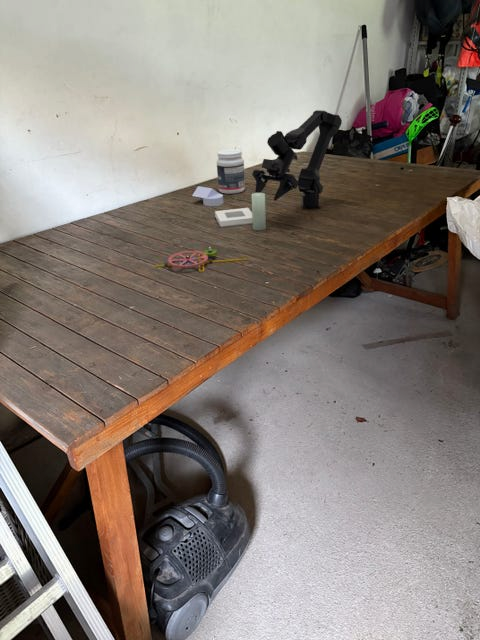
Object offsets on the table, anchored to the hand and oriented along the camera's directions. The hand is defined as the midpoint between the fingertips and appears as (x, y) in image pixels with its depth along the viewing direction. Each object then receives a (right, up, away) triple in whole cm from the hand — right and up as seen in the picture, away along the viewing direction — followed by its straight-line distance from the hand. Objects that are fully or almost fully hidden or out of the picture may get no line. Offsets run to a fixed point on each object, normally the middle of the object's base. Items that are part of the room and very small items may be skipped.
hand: (265, 198), depth 190 cm
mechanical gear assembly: (-22, -28, -25) cm, 43 cm away
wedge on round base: (-23, +7, +37) cm, 44 cm away
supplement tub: (-13, +16, +53) cm, 57 cm away
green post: (-2, -11, +3) cm, 11 cm away
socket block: (-11, -6, +13) cm, 18 cm away
